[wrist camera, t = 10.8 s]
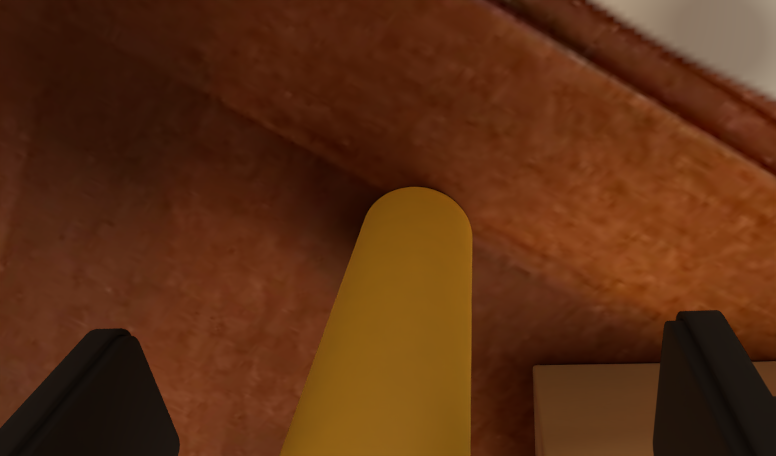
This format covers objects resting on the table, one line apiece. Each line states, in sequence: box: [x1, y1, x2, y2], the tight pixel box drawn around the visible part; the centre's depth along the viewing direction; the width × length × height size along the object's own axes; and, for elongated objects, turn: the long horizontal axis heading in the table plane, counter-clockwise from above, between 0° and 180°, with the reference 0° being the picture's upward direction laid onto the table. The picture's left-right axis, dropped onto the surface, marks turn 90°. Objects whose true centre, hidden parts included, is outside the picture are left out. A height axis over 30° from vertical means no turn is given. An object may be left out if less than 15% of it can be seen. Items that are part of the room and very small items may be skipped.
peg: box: [279, 187, 472, 456], centre depth 12 cm, size 3×3×10 cm
